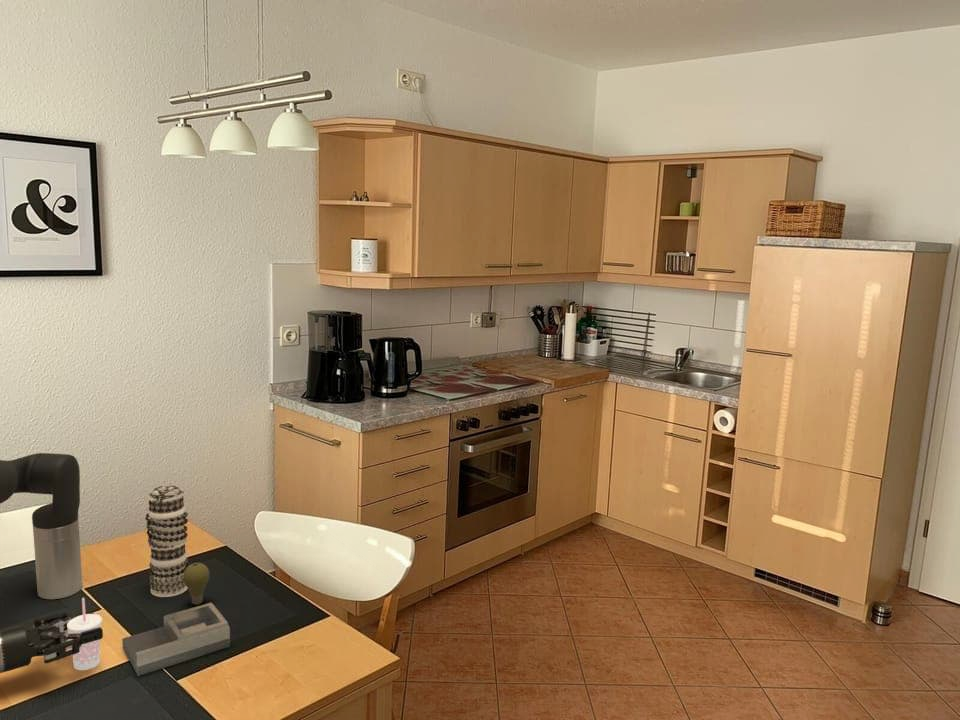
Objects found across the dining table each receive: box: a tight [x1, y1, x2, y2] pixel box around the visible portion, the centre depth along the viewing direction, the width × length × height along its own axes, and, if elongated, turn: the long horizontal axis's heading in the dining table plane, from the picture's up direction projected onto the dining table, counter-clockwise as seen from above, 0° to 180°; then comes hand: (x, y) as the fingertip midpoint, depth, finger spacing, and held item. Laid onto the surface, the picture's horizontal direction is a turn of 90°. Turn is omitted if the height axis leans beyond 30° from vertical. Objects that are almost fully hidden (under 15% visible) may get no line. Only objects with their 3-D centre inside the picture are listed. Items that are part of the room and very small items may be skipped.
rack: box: [121, 602, 231, 677], centre depth 154 cm, size 12×18×5 cm, turn 128°
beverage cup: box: [67, 597, 103, 671], centre depth 146 cm, size 6×6×14 cm
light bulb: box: [183, 562, 210, 606], centre depth 171 cm, size 6×6×10 cm
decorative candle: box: [145, 485, 189, 598], centre depth 176 cm, size 9×9×25 cm
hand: (98, 624), depth 148 cm, fingers closed on beverage cup, 6 cm apart
